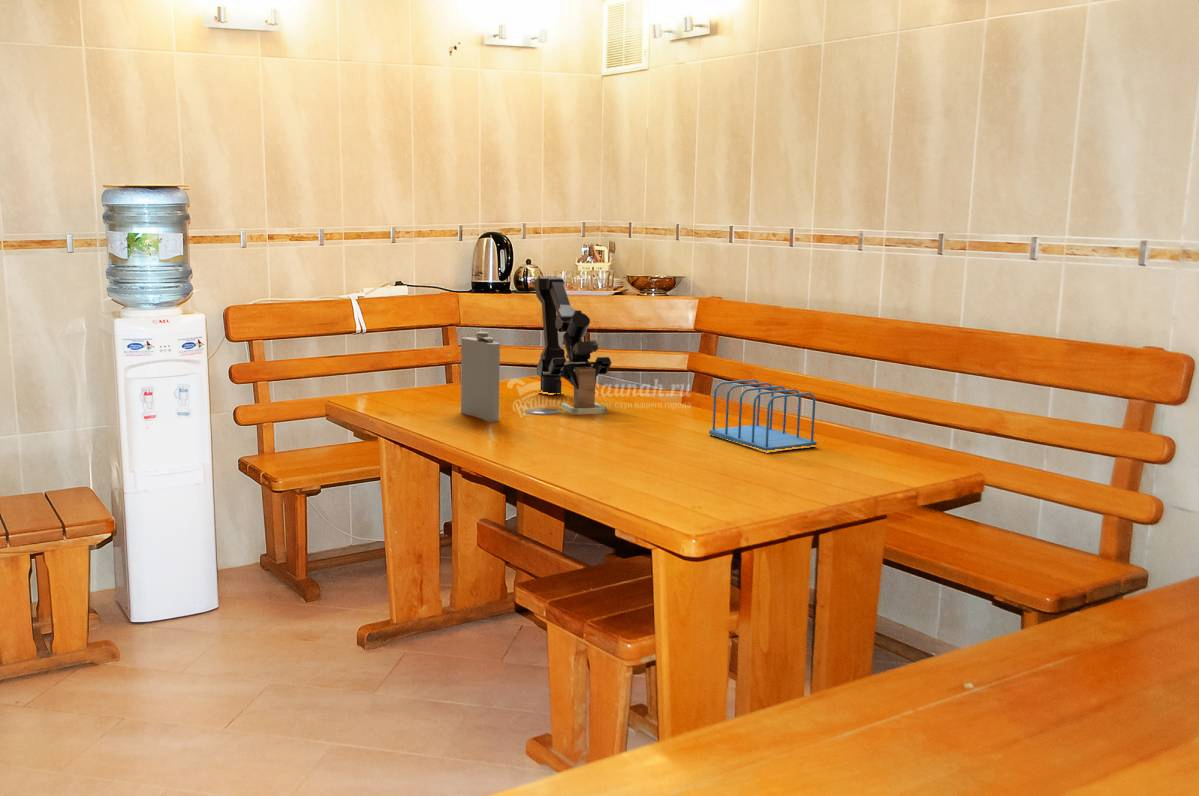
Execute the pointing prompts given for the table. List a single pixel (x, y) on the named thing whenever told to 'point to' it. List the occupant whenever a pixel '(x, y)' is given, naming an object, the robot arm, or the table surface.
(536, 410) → the slate coaster
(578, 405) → the oak block
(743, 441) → the file sorter
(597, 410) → the pocket
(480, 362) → the flask
